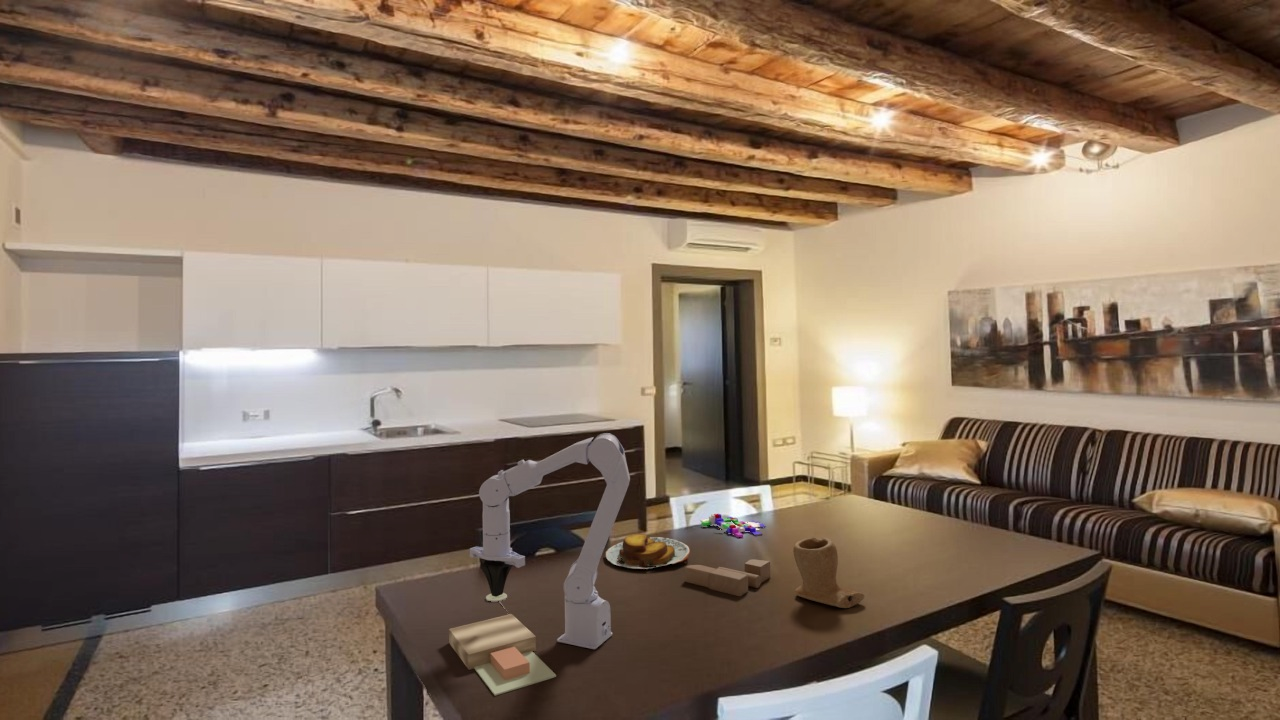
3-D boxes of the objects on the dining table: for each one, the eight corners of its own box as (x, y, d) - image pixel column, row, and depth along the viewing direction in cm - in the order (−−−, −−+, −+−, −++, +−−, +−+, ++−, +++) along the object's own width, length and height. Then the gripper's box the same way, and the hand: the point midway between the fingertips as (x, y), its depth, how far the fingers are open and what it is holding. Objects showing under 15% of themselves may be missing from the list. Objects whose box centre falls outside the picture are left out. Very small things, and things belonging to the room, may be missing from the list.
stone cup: (783, 599, 155) (782, 538, 155) (812, 587, 162) (811, 529, 162) (838, 618, 143) (837, 552, 143) (866, 604, 151) (864, 541, 151)
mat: (474, 668, 123) (474, 667, 122) (531, 652, 129) (531, 650, 129) (494, 695, 112) (494, 694, 112) (556, 676, 119) (556, 675, 119)
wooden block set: (742, 576, 156) (683, 563, 168) (742, 599, 156) (683, 584, 168) (773, 558, 170) (716, 547, 181) (774, 579, 170) (717, 566, 181)
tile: (490, 663, 124) (490, 653, 124) (514, 656, 127) (514, 646, 127) (504, 680, 117) (504, 669, 117) (529, 672, 120) (529, 662, 120)
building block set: (779, 534, 213) (779, 521, 213) (726, 542, 206) (726, 528, 206) (742, 517, 236) (741, 505, 236) (692, 523, 229) (692, 511, 229)
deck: (449, 642, 134) (448, 628, 134) (511, 627, 141) (511, 613, 141) (468, 669, 122) (468, 654, 122) (536, 650, 129) (535, 636, 129)
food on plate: (706, 563, 183) (705, 541, 183) (630, 580, 171) (630, 556, 171) (661, 542, 206) (661, 522, 206) (592, 554, 194) (591, 533, 194)
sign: (498, 616, 147) (483, 594, 160) (498, 620, 147) (483, 598, 160) (520, 612, 149) (504, 591, 162) (520, 616, 149) (504, 594, 162)
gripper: (534, 531, 135) (535, 594, 135) (485, 523, 143) (486, 583, 143) (511, 540, 129) (512, 606, 129) (462, 531, 137) (462, 593, 137)
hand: (497, 594), depth 136 cm, fingers closed
